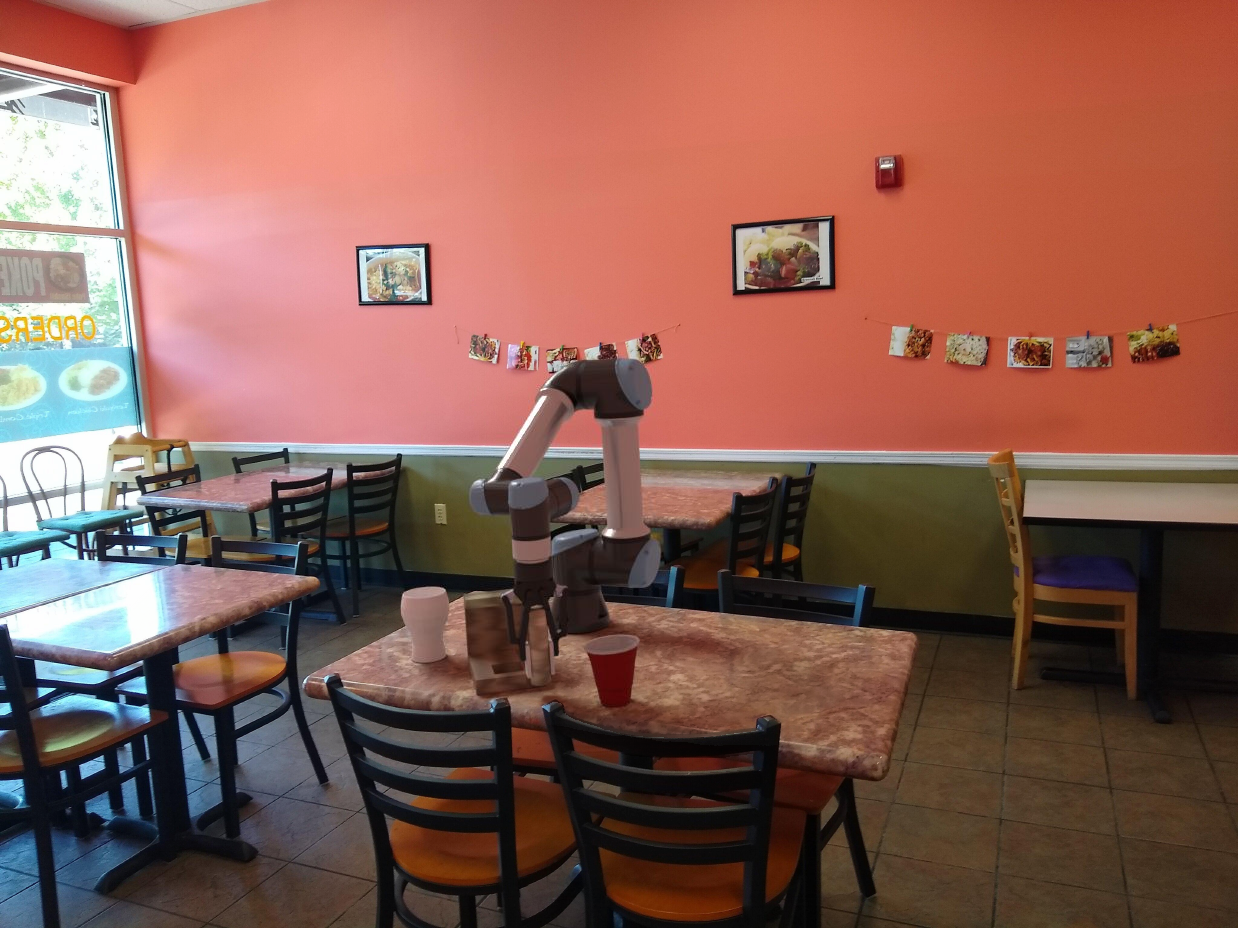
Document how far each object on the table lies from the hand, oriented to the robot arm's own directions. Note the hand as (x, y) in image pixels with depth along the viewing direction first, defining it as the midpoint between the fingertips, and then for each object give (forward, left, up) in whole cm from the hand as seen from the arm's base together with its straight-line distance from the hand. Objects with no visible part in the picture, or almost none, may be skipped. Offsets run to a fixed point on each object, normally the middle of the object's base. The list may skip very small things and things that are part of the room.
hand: (540, 673), depth 181 cm
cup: (+20, -32, -5) cm, 38 cm away
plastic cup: (-13, +8, -5) cm, 16 cm away
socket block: (+5, -14, -4) cm, 15 cm away
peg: (0, 0, -2) cm, 2 cm away
